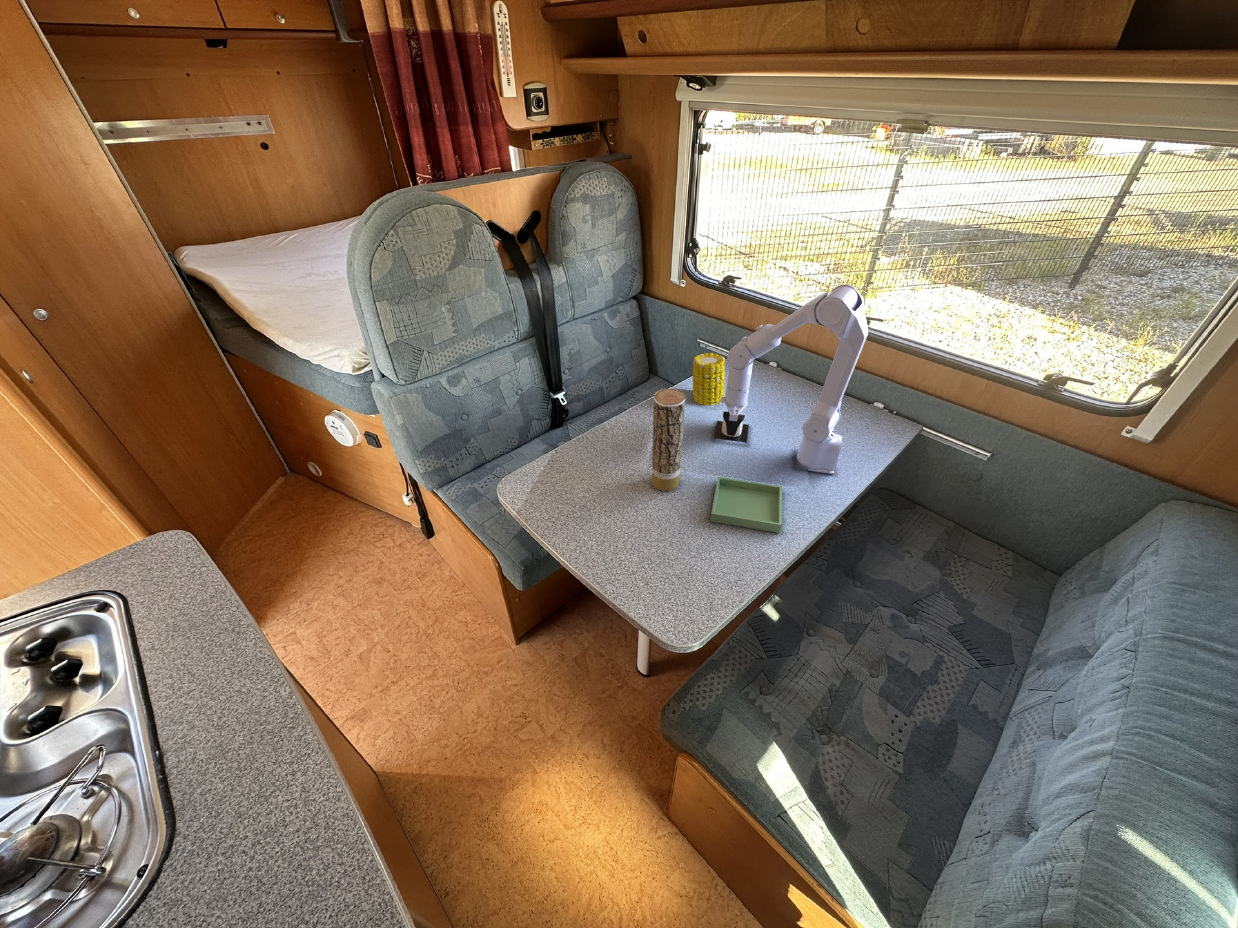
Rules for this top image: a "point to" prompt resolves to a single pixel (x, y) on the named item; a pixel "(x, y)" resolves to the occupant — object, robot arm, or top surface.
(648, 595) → the top surface
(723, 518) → the tray
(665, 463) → the bark log
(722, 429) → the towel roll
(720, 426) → the stand
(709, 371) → the food
